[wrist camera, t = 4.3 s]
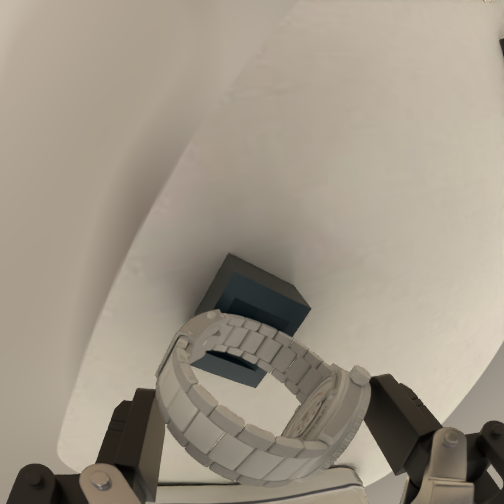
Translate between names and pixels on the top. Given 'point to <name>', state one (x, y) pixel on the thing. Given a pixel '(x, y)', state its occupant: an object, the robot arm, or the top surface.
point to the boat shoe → (273, 492)
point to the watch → (251, 373)
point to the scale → (502, 44)
